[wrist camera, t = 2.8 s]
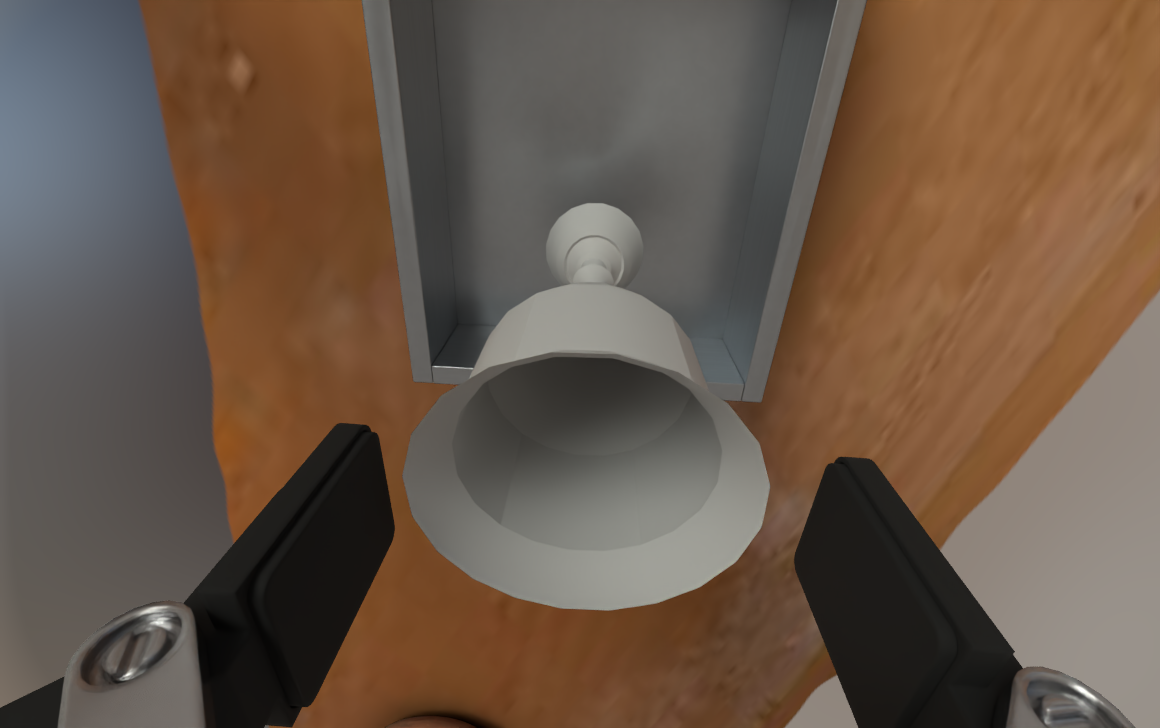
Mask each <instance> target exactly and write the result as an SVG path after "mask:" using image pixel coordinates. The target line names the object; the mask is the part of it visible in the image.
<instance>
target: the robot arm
mask: <svg viewBox="0 0 1160 728" xmlns="http://www.w3.org/2000/svg"><path fill="white" fill-rule="evenodd" d="M394 531H395V525H394V519H393V513H392V508H391V502H390V496H389V491H388V485H387V480H386V474H385V469H384V463H383V458H382V452H381V446H380V441H379V437H378V434H377V433H375V432H371V429H370V428H369V426H367V425H360V424H346V423H339V424H337V425H336V426H335V427H334V428H333V429H332V430H331V431H330V432H329V433H328V435H327V436H326V437H325V438H324V439H323V441H322V442H321V443H320V444H319V445H318V447H317V448H316V449H315V450H314V451H313V452H312V454H311V455H310V456H309V457H308V458H307V460H306V461H305V462H304V463H303V464H302V465H301V467H300V468H299V469H298V470H297V471H296V473H295V474H294V475H293V476H292V477H291V479H290V480H289V481H288V482H287V483H286V484H285V486H284V487H283V488H282V489H281V490H279V491H278V492H277V494H276V495H275V496H274V497H273V498H272V499H271V501H270V502H269V503H268V504H267V505H266V507H265V508H264V509H263V510H262V511H261V512H260V514H259V515H258V516H257V517H256V518H255V520H254V521H253V522H252V523H251V524H250V525H249V527H248V528H247V529H246V530H245V531H244V532H243V534H242V535H241V536H240V537H239V538H238V540H237V541H236V542H235V543H234V544H233V545H232V547H231V548H230V549H229V550H228V552H227V553H226V554H225V555H224V556H223V557H222V559H221V560H220V561H219V562H218V563H217V564H216V566H215V567H214V568H213V569H212V570H211V572H210V573H209V574H208V575H207V576H206V577H205V579H204V580H203V581H202V582H201V583H200V584H199V586H198V587H197V588H196V589H195V590H194V592H193V593H192V594H191V595H190V596H189V598H188V599H187V600H186V601H185V602H184V603H181V602H175V601H160V602H153V603H150V604H146V605H143V606H140V607H137V608H134V609H132V610H130V611H128V612H126V613H124V614H122V615H120V616H118V617H116V618H114V619H113V620H111V621H110V622H108V623H107V624H105V625H104V626H102V627H101V628H99V629H98V630H97V631H96V632H94V633H93V634H92V635H91V636H90V637H89V638H88V639H87V640H86V641H85V642H84V643H83V644H82V645H81V646H80V647H79V649H78V650H77V652H76V653H75V654H74V656H73V657H72V658H71V660H70V662H69V665H68V667H67V670H66V673H65V676H64V677H62V678H60V679H58V680H56V681H54V682H52V683H50V684H48V685H46V686H44V687H42V688H40V689H38V690H36V691H34V692H32V693H30V694H28V695H26V696H23V697H21V698H19V699H17V700H15V701H13V702H11V703H9V704H7V705H5V706H3V707H1V708H0V728H264V727H265V725H271V726H283V727H292V726H293V724H294V722H295V720H296V718H297V716H298V714H299V712H300V710H301V708H302V707H308V706H309V705H311V703H312V702H313V701H314V699H315V698H316V696H317V694H318V692H319V690H320V688H321V686H322V684H323V682H324V680H325V678H326V676H327V673H328V671H329V669H330V667H331V665H332V663H333V661H334V659H335V657H336V655H337V653H338V651H339V649H340V647H341V645H342V643H343V641H344V639H345V637H346V635H347V633H348V631H349V629H350V627H351V625H352V623H353V621H354V618H355V616H356V614H357V612H358V610H359V608H360V606H361V604H362V602H363V600H364V598H365V596H366V594H367V592H368V590H369V588H370V586H371V584H372V582H373V580H374V578H375V576H376V574H377V572H378V570H379V568H380V566H381V563H382V561H383V559H384V557H385V555H386V553H387V551H388V549H389V547H390V545H391V543H392V540H393V537H394ZM794 563H795V570H796V573H797V576H798V578H799V581H800V583H801V586H802V588H803V591H804V593H805V596H806V598H807V601H808V603H809V606H810V608H811V610H812V613H813V615H814V618H815V620H816V623H817V625H818V628H819V630H820V633H821V635H822V638H823V640H824V643H825V645H826V648H827V650H828V653H829V655H830V658H831V660H832V663H833V665H834V668H835V670H836V673H837V675H838V678H839V680H840V682H841V685H842V688H843V690H844V693H845V695H846V698H847V700H848V703H849V705H850V708H851V710H852V712H853V715H854V718H855V720H856V723H857V725H858V728H1135V727H1134V726H1133V725H1132V723H1131V722H1130V721H1129V720H1128V719H1127V718H1126V717H1125V716H1124V715H1123V714H1122V713H1121V711H1120V710H1119V709H1117V708H1116V707H1115V706H1114V705H1113V704H1112V703H1110V702H1109V701H1108V700H1107V699H1105V698H1104V697H1103V696H1102V695H1101V694H1099V693H1098V692H1096V691H1095V690H1093V689H1092V688H1090V687H1089V686H1087V685H1085V684H1084V683H1082V682H1081V681H1079V680H1077V679H1075V678H1073V677H1070V676H1068V675H1066V674H1064V673H1062V672H1060V671H1056V670H1052V669H1049V668H1045V667H1026V668H1024V669H1023V668H1022V666H1021V665H1020V664H1019V662H1018V661H1017V660H1016V658H1015V657H1014V656H1013V653H1014V652H1015V651H1014V650H1013V649H1012V648H1011V646H1010V645H1009V644H1008V642H1007V641H1006V639H1005V638H1004V637H1003V635H1002V634H1001V633H1000V631H999V630H998V629H997V627H996V626H995V625H994V623H993V622H992V620H991V619H990V618H989V616H988V615H987V614H986V612H985V611H984V610H983V608H982V607H981V606H980V604H979V603H978V602H977V600H976V599H975V598H974V596H973V595H972V594H971V592H970V591H969V589H968V588H967V587H966V585H965V584H964V583H963V581H962V580H961V579H960V577H959V576H958V575H957V573H956V572H955V571H954V569H953V568H952V566H951V565H950V564H949V562H948V561H947V560H946V558H945V557H944V556H943V554H942V553H941V552H940V550H939V549H938V548H937V546H936V545H935V544H934V542H933V541H932V539H931V538H930V537H929V535H928V534H927V533H926V531H925V530H924V529H923V527H922V526H921V525H920V523H919V522H918V521H917V519H916V518H915V517H914V515H913V514H912V513H911V511H910V510H909V508H908V507H907V506H906V504H905V503H904V502H903V500H902V499H901V498H900V496H899V495H898V494H897V492H896V491H895V490H894V488H893V487H892V486H891V484H890V483H889V481H888V480H887V479H886V477H885V476H884V475H883V473H882V472H881V471H880V469H879V468H878V467H877V465H876V464H875V463H874V462H873V461H872V460H870V459H867V458H852V457H839V458H837V459H836V460H835V462H834V463H830V464H828V465H827V467H826V469H825V471H824V474H823V477H822V480H821V483H820V485H819V488H818V491H817V494H816V497H815V499H814V502H813V505H812V508H811V510H810V513H809V516H808V519H807V522H806V524H805V527H804V530H803V533H802V536H801V538H800V541H799V544H798V547H797V550H796V552H795V558H794Z"/></svg>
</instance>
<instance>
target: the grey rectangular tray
mask: <svg viewBox="0 0 1160 728" xmlns="http://www.w3.org/2000/svg"><path fill="white" fill-rule="evenodd" d="M866 2H867V0H362V6H363V13H364V21H365V28H366V36H367V43H368V50H369V58H370V65H371V73H372V80H373V87H374V95H375V102H376V110H377V117H378V124H379V132H380V139H381V146H382V154H383V161H384V169H385V176H386V183H387V191H388V198H389V206H390V213H391V220H392V228H393V235H394V242H395V250H396V257H397V265H398V272H399V279H400V287H401V294H402V302H403V309H404V316H405V324H406V331H407V338H408V346H409V353H410V361H411V368H412V375H413V381H414V382H423V383H433V382H434V383H437V384H454V385H460V384H461V383H463V382H465V381H467V380H468V379H469V378H470V376H471V373H472V371H473V369H474V367H475V365H476V363H477V361H478V358H479V356H480V354H481V352H482V350H483V348H484V346H485V343H486V341H487V339H488V337H489V335H490V334H491V333H492V331H493V330H494V329H495V327H496V326H497V325H498V324H499V322H500V321H501V320H502V318H503V317H504V316H505V315H506V313H507V312H508V311H509V310H511V309H512V308H514V307H516V306H517V305H519V304H520V303H522V302H524V301H525V300H527V299H528V298H530V297H531V296H533V295H535V294H536V293H539V292H543V291H546V290H549V289H553V288H556V287H560V286H561V285H560V284H559V282H558V281H557V280H556V279H555V277H554V276H553V275H552V273H551V270H550V268H549V265H548V262H547V258H546V243H547V240H548V236H549V233H550V230H551V229H552V227H553V226H554V224H555V223H556V221H557V220H558V219H559V217H561V216H562V215H563V214H565V213H566V212H567V211H569V210H570V209H571V208H574V207H577V206H580V205H583V204H586V203H603V204H606V205H609V206H612V207H615V208H618V209H619V210H621V211H622V212H623V213H625V214H626V215H627V216H629V217H630V218H631V219H632V221H633V222H634V224H635V225H636V227H637V228H638V230H639V231H640V235H641V239H642V243H643V261H642V263H641V266H640V268H639V271H638V273H637V275H636V276H635V278H634V279H633V280H632V281H631V283H630V284H629V285H628V286H627V287H625V288H624V289H626V290H629V291H632V292H634V293H637V294H639V295H642V296H643V297H645V298H646V299H648V300H649V301H651V302H652V303H654V304H655V305H657V306H658V307H660V308H661V309H663V310H664V311H666V312H667V313H669V314H670V315H671V316H672V317H673V318H674V319H675V321H676V322H677V323H678V325H679V326H680V327H681V329H682V330H683V331H684V332H685V334H686V335H687V336H688V338H689V339H690V340H691V343H692V346H693V348H694V351H695V354H696V357H697V359H698V362H699V365H700V367H701V370H702V373H703V376H704V378H705V381H706V384H707V387H708V389H709V392H711V393H712V394H714V395H715V396H717V397H719V398H720V399H722V400H727V401H745V402H762V398H763V394H764V390H765V386H766V383H767V379H768V375H769V371H770V367H771V364H772V360H773V356H774V352H775V348H776V344H777V341H778V337H779V333H780V329H781V325H782V322H783V318H784V314H785V310H786V306H787V303H788V299H789V295H790V291H791V287H792V284H793V280H794V276H795V272H796V268H797V265H798V261H799V257H800V253H801V249H802V246H803V242H804V238H805V234H806V230H807V227H808V223H809V219H810V215H811V211H812V208H813V204H814V200H815V196H816V192H817V189H818V185H819V181H820V177H821V173H822V170H823V166H824V162H825V158H826V154H827V151H828V147H829V143H830V139H831V135H832V132H833V128H834V124H835V120H836V116H837V113H838V109H839V105H840V101H841V97H842V94H843V90H844V86H845V82H846V78H847V75H848V71H849V67H850V63H851V59H852V56H853V52H854V48H855V44H856V40H857V37H858V33H859V29H860V25H861V21H862V18H863V14H864V10H865V6H866Z"/></svg>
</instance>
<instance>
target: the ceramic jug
mask: <svg viewBox="0 0 1160 728" xmlns="http://www.w3.org/2000/svg"><path fill="white" fill-rule="evenodd" d="M385 728H476V727H475V726H472V725H470V724H468V723H466V722H463V721H460V720H457V719H453V718H448V717H441V716H419V717H412V718H407V719H403V720H400V721H397V722H395V723H392V724H390V725H388V726H386V727H385Z"/></svg>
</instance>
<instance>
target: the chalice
mask: <svg viewBox="0 0 1160 728" xmlns="http://www.w3.org/2000/svg"><path fill="white" fill-rule="evenodd" d="M546 258H547V262H548V265H549V268H550V270H551V273H552V275H553V276H554V277H555V279H556V280H557V281H558V282H559V284H560V285H561V286H560V287H556V288H553V289H549V290H546V291H543V292H539V293H536V294H535V295H533V296H531V297H530V298H528V299H527V300H525V301H524V302H522V303H520V304H519V305H517V306H516V307H514V308H512V309H511V310H509V311H508V312H507V313H506V315H505V316H504V317H503V318H502V320H501V321H500V322H499V324H498V325H497V326H496V327H495V329H494V330H493V331H492V333H491V334H490V335H489V337H488V339H487V341H486V343H485V346H484V348H483V350H482V352H481V354H480V356H479V358H478V361H477V363H476V365H475V367H474V369H473V371H472V373H471V376H470V378H469V379H468V380H467V381H465V382H463V383H461V384H460V385H458V386H456V387H455V388H453V389H451V390H450V391H448V392H446V393H445V394H443V395H441V396H440V398H439V399H438V400H437V402H436V403H435V404H434V405H433V407H432V408H431V409H430V411H429V412H428V413H427V414H426V416H425V417H424V418H423V420H422V421H421V422H420V423H419V425H418V426H417V427H416V429H415V430H414V431H413V432H412V434H411V438H410V443H409V447H408V452H407V457H406V461H405V466H404V471H403V475H402V476H403V481H404V485H405V489H406V493H407V497H408V501H409V505H410V509H411V513H412V517H413V518H414V519H415V521H416V522H417V524H418V525H419V526H420V528H421V529H422V531H423V532H424V533H425V535H426V536H427V538H428V539H429V540H430V542H431V543H432V545H433V546H434V547H435V549H436V550H437V551H438V552H439V553H440V554H442V555H443V556H444V557H445V558H447V559H448V560H449V561H451V562H452V563H453V564H455V565H456V566H457V567H458V568H460V569H461V570H462V571H464V572H465V573H466V574H468V575H469V576H470V577H471V578H473V579H475V580H477V581H479V582H481V583H484V584H486V585H488V586H490V587H493V588H495V589H497V590H499V591H501V592H504V593H506V594H508V595H510V596H513V597H515V598H519V599H523V600H527V601H532V602H536V603H540V604H545V605H549V606H553V607H558V608H565V609H589V610H615V609H622V608H629V607H636V606H642V605H649V604H656V603H659V602H662V601H664V600H667V599H670V598H672V597H675V596H678V595H680V594H683V593H686V592H688V591H691V590H694V589H697V588H699V587H701V586H702V585H704V584H705V583H707V582H708V581H709V580H711V579H712V578H714V577H715V576H717V575H718V574H719V573H721V572H722V571H724V570H725V569H727V568H728V567H729V566H731V565H732V564H734V563H735V562H736V561H737V560H738V559H739V557H740V556H741V555H742V553H743V552H744V551H745V549H746V548H747V546H748V545H749V544H750V542H751V541H752V540H753V538H754V537H755V535H756V534H757V533H758V531H759V530H760V529H761V527H762V522H763V518H764V513H765V509H766V504H767V500H768V495H769V490H770V483H769V479H768V475H767V471H766V467H765V463H764V459H763V455H762V452H761V448H760V444H759V442H758V441H757V440H756V438H755V437H754V436H753V435H752V433H751V432H750V431H749V430H748V428H747V427H746V426H745V424H744V423H743V422H742V421H741V419H740V418H739V417H738V416H737V414H736V413H735V412H734V410H733V409H732V408H731V407H730V405H729V404H728V403H726V402H725V401H723V400H722V399H720V398H719V397H717V396H715V395H714V394H712V393H711V392H709V389H708V387H707V384H706V381H705V378H704V376H703V373H702V370H701V367H700V365H699V362H698V359H697V357H696V354H695V351H694V348H693V346H692V343H691V340H690V339H689V338H688V336H687V335H686V334H685V332H684V331H683V330H682V329H681V327H680V326H679V325H678V323H677V322H676V321H675V319H674V318H673V317H672V316H671V315H670V314H669V313H667V312H666V311H664V310H663V309H661V308H660V307H658V306H657V305H655V304H654V303H652V302H651V301H649V300H648V299H646V298H645V297H643V296H642V295H639V294H637V293H634V292H632V291H629V290H626V289H624V288H625V287H627V286H628V285H629V284H630V283H631V281H632V280H633V279H634V278H635V276H636V275H637V273H638V271H639V268H640V266H641V263H642V261H643V243H642V239H641V235H640V231H639V230H638V228H637V227H636V225H635V224H634V222H633V221H632V219H631V218H630V217H629V216H627V215H626V214H625V213H623V212H622V211H621V210H619V209H618V208H615V207H612V206H609V205H606V204H603V203H586V204H583V205H580V206H577V207H574V208H571V209H570V210H569V211H567V212H566V213H565V214H563V215H562V216H561V217H559V219H558V220H557V221H556V223H555V224H554V226H553V227H552V229H551V230H550V233H549V236H548V240H547V243H546Z"/></svg>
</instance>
